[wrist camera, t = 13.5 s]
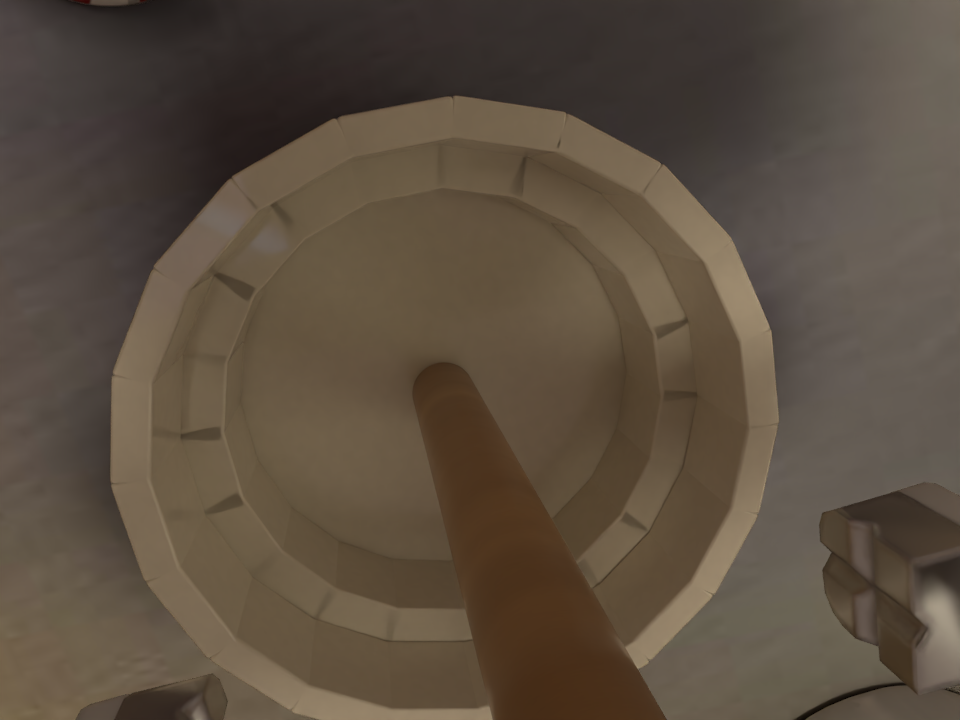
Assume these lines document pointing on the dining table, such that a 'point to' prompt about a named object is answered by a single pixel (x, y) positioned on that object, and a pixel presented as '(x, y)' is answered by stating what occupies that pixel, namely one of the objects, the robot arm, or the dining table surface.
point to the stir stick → (519, 573)
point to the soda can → (111, 2)
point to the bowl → (390, 407)
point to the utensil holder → (894, 706)
